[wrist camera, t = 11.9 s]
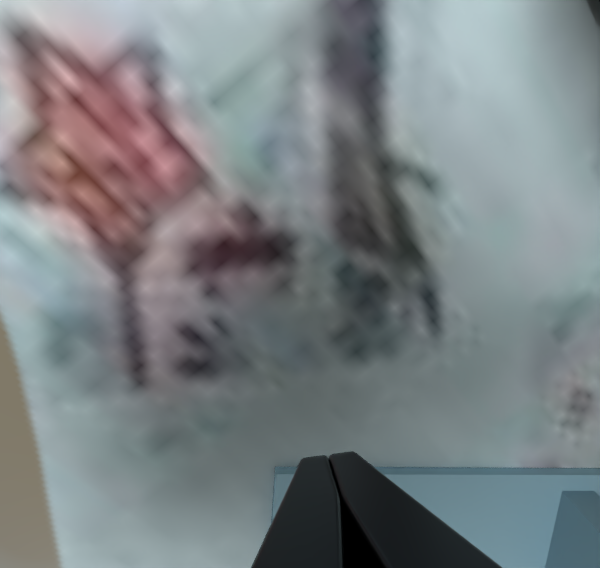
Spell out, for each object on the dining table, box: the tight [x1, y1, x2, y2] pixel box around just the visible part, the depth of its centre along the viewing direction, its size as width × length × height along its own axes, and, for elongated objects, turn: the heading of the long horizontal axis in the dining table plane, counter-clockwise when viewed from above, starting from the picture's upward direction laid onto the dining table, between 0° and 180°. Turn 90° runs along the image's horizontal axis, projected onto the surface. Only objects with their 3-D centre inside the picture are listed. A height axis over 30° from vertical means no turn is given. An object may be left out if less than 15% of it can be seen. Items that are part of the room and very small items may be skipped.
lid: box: [271, 467, 600, 568], centre depth 23 cm, size 15×6×4 cm, turn 86°
